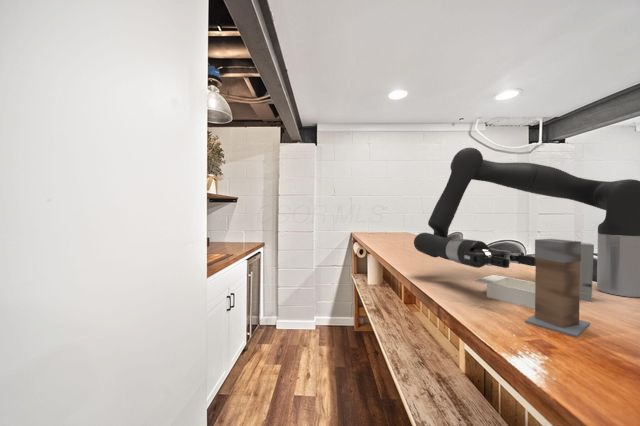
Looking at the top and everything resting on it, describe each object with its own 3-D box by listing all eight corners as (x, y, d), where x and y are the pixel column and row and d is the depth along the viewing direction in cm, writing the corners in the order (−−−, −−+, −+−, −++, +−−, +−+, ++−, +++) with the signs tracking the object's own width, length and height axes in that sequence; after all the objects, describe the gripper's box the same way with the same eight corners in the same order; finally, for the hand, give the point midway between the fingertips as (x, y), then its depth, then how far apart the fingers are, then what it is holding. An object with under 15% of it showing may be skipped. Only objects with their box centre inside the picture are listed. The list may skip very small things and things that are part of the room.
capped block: (551, 315, 58) (552, 238, 58) (580, 325, 53) (581, 241, 53) (534, 317, 57) (534, 239, 57) (562, 328, 52) (563, 242, 52)
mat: (541, 314, 61) (541, 310, 61) (589, 327, 55) (589, 322, 55) (524, 325, 55) (524, 320, 55) (576, 340, 49) (576, 335, 49)
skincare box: (550, 297, 73) (551, 241, 73) (550, 291, 79) (550, 238, 78) (594, 304, 68) (594, 243, 68) (590, 297, 73) (591, 241, 73)
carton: (493, 289, 81) (493, 274, 81) (569, 306, 67) (569, 288, 66) (475, 296, 74) (475, 280, 74) (555, 316, 60) (555, 296, 60)
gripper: (446, 240, 76) (498, 247, 60) (485, 238, 79) (544, 245, 64) (446, 266, 76) (498, 280, 60) (485, 263, 80) (543, 276, 64)
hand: (522, 262), depth 62 cm, fingers open, 8 cm apart
